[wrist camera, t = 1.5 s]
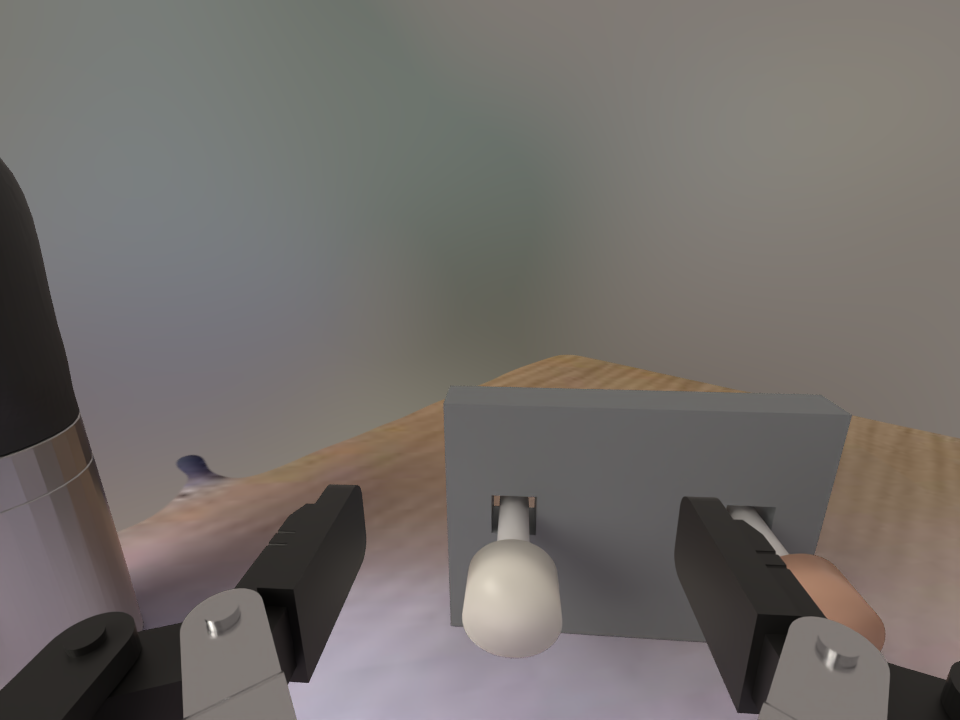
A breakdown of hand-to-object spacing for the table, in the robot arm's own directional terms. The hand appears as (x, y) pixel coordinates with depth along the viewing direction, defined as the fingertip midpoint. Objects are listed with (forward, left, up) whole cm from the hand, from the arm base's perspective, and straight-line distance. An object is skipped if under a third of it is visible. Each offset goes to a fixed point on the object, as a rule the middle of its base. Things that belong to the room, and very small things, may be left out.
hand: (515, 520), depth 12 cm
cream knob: (-11, +8, -15) cm, 20 cm away
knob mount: (-13, +18, -22) cm, 31 cm away
